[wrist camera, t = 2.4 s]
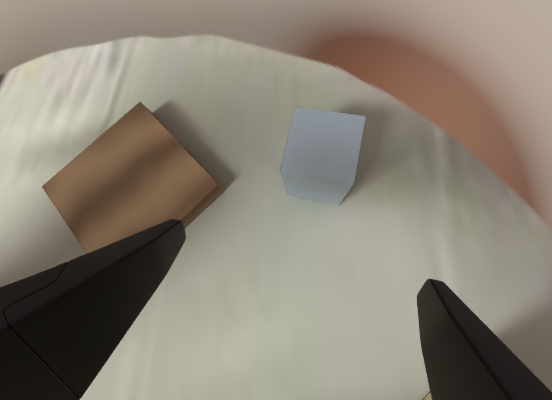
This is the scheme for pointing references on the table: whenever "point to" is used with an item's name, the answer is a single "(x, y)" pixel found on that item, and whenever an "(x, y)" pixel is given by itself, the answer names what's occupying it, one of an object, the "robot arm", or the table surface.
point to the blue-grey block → (321, 154)
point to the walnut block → (130, 182)
